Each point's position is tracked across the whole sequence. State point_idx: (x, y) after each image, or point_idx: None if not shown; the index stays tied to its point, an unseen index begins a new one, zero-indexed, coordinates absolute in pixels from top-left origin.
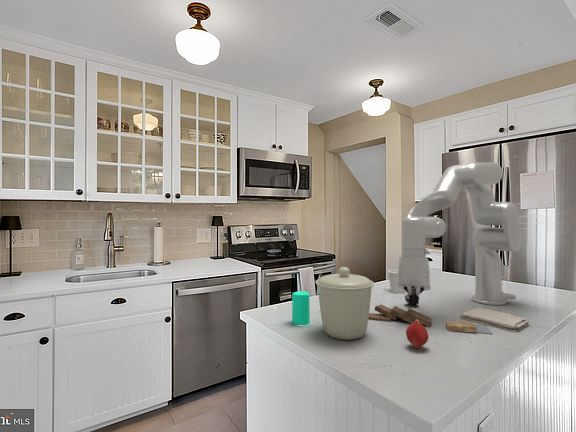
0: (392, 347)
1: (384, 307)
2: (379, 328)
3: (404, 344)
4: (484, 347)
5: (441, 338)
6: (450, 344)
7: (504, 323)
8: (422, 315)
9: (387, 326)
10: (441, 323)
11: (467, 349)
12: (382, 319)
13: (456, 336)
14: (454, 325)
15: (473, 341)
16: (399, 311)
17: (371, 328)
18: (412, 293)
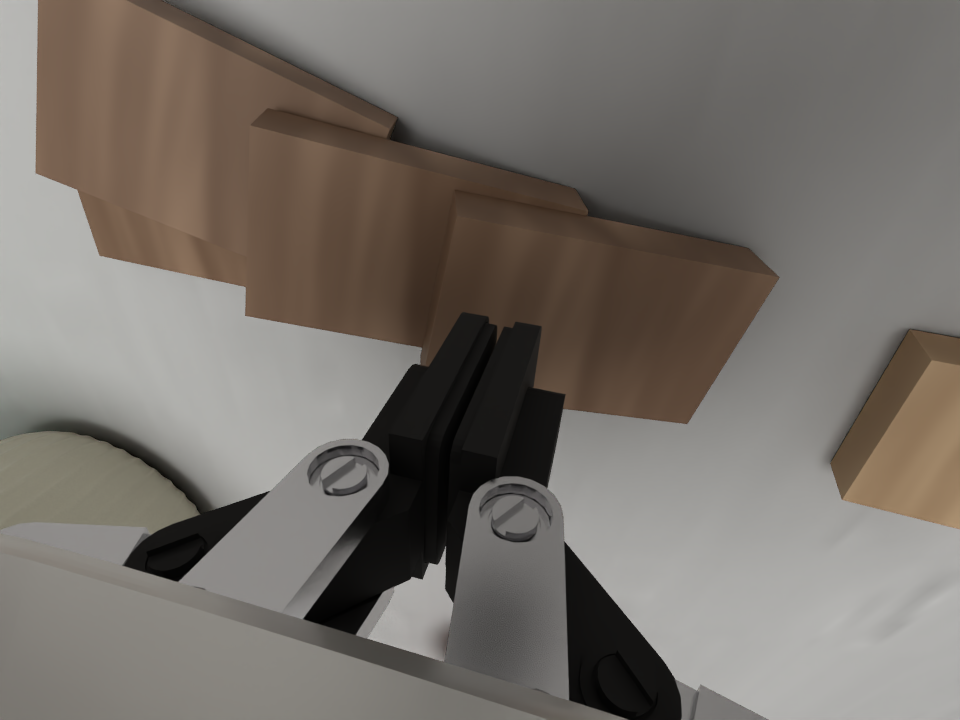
0: (376, 635)
1: (137, 97)
2: (267, 433)
3: (430, 619)
4: (925, 693)
5: (678, 578)
6: (699, 643)
7: None
8: (636, 311)
9: (310, 394)
10: (895, 255)
11: (774, 693)
12: (236, 280)
13: (831, 558)
14: (930, 503)
15: (918, 629)
16: (345, 295)
17: (221, 435)
18: (402, 569)
